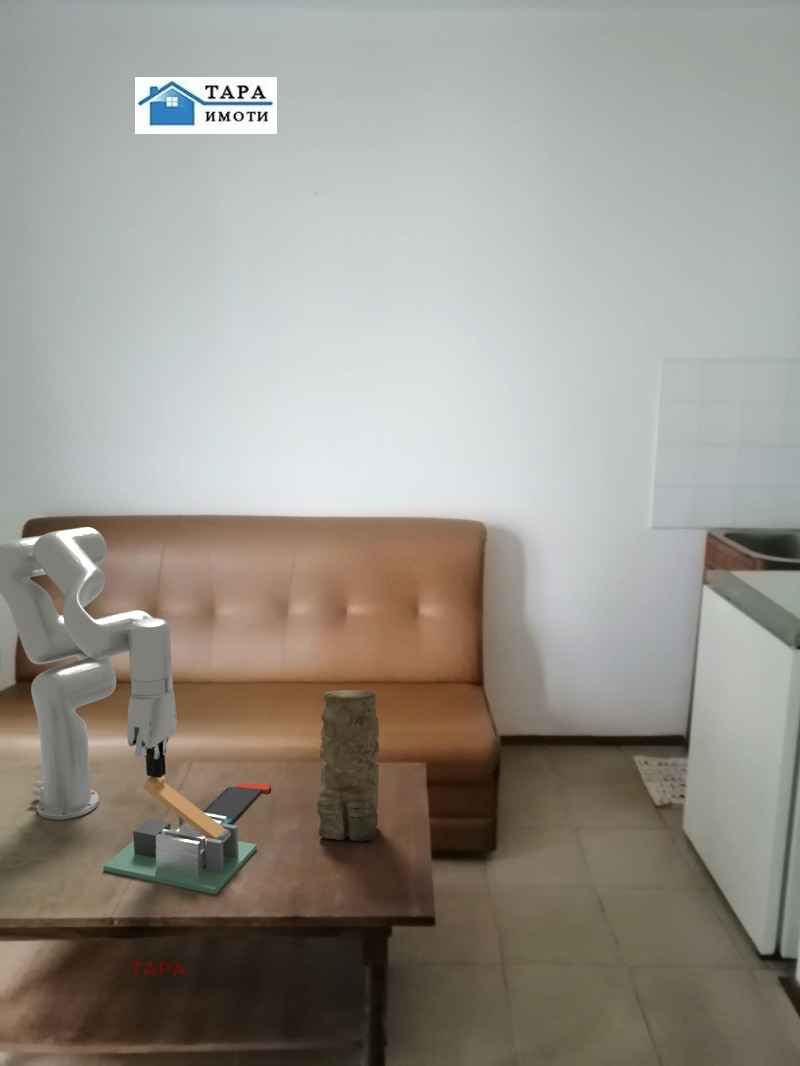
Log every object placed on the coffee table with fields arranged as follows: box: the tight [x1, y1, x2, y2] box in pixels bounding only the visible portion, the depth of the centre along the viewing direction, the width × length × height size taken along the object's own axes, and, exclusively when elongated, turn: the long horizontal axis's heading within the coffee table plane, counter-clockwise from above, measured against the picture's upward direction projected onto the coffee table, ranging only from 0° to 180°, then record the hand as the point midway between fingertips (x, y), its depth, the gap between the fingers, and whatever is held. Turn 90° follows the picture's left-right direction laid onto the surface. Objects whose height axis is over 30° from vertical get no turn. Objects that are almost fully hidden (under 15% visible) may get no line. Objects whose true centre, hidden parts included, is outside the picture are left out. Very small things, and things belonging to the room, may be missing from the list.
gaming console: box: [202, 782, 272, 825], centre depth 186 cm, size 19×1×10 cm
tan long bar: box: [142, 775, 231, 843], centre depth 162 cm, size 19×4×2 cm, turn 73°
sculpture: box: [316, 689, 380, 842], centre depth 172 cm, size 12×9×30 cm
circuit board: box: [103, 818, 258, 895], centre depth 164 cm, size 24×16×7 cm, turn 72°
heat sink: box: [156, 813, 227, 877], centre depth 163 cm, size 9×11×6 cm
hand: (156, 774), depth 163 cm, fingers closed
